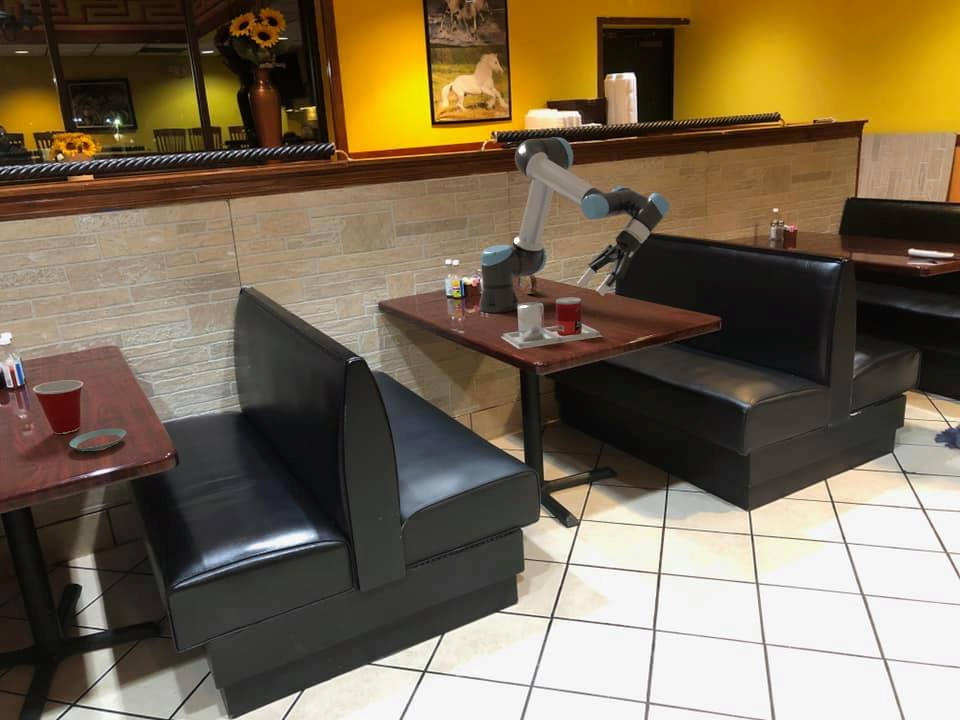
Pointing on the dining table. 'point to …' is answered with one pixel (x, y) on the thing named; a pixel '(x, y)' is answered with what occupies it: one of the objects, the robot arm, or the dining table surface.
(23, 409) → the dining table surface
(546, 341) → the divided white tray
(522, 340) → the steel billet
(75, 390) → the plastic cup
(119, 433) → the saucer
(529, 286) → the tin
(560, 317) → the canned food
